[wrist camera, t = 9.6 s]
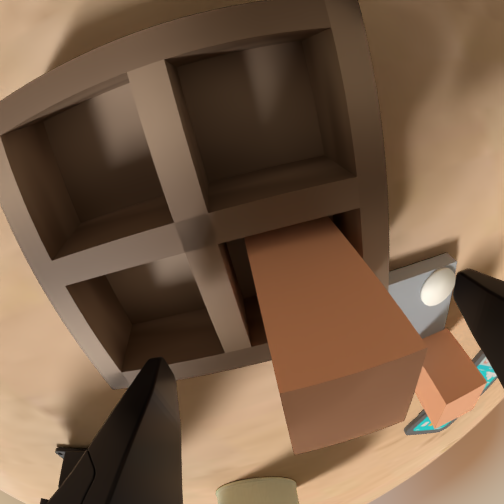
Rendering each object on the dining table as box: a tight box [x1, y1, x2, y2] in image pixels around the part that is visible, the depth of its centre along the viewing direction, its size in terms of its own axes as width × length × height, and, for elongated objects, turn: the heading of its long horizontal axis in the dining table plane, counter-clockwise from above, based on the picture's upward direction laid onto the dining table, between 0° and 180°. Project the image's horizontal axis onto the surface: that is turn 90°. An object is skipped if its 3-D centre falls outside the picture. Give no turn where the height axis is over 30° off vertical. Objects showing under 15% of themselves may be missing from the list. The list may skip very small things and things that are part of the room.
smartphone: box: [404, 350, 498, 435], centre depth 25 cm, size 9×1×15 cm
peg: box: [244, 216, 428, 455], centre depth 10 cm, size 3×3×8 cm
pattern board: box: [388, 253, 487, 429], centre depth 15 cm, size 8×8×6 cm
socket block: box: [0, 0, 389, 389], centre depth 11 cm, size 12×12×4 cm
